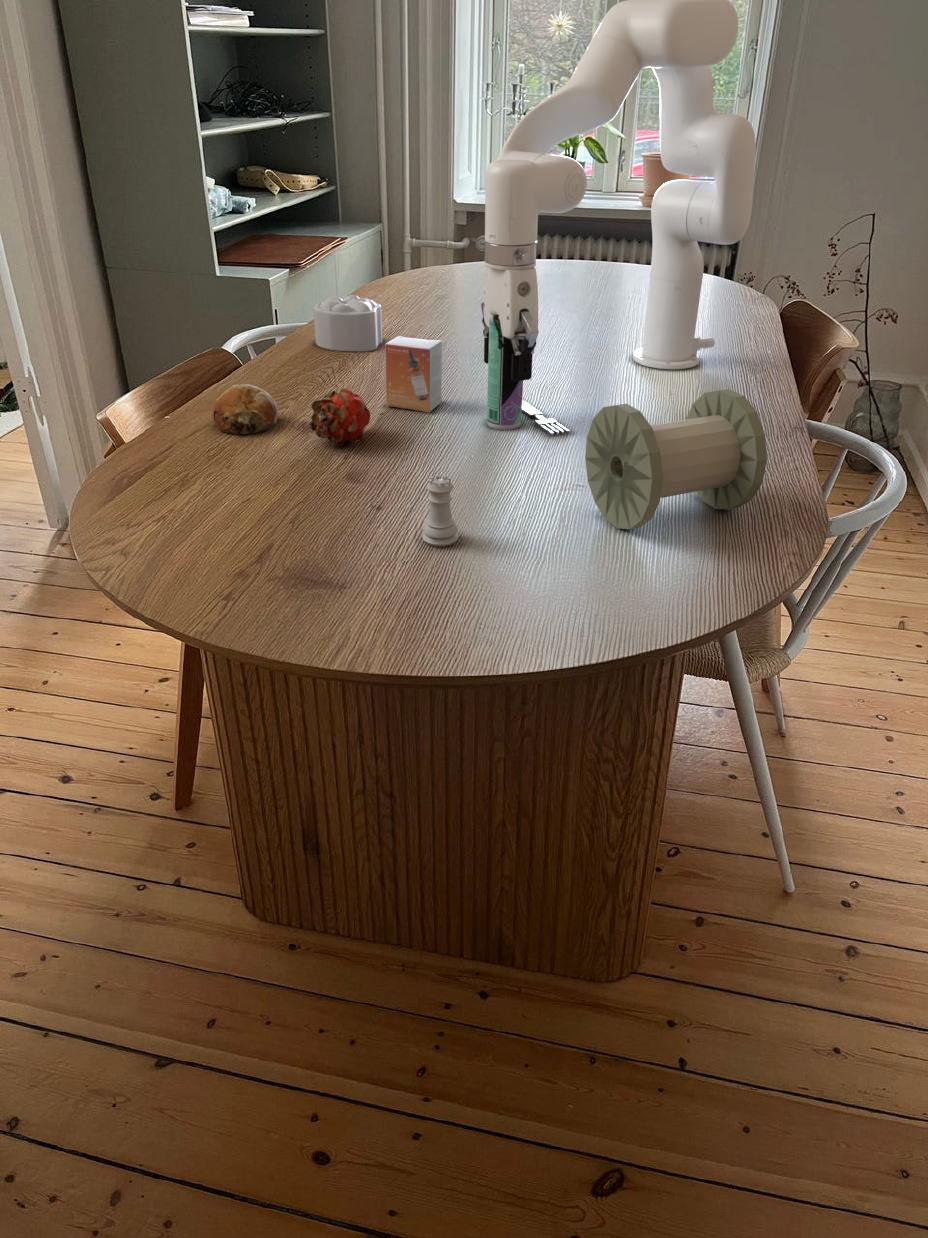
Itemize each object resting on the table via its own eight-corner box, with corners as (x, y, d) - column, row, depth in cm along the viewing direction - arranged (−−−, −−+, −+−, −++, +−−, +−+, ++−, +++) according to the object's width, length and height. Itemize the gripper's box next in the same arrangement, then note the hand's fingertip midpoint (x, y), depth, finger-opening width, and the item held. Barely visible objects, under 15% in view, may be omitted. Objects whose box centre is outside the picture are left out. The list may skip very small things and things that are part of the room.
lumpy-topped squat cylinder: (372, 352, 183) (370, 306, 179) (308, 348, 185) (305, 303, 181) (385, 338, 192) (383, 294, 188) (324, 334, 194) (321, 291, 189)
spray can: (518, 431, 147) (523, 299, 136) (484, 428, 148) (486, 297, 137) (523, 419, 152) (529, 291, 141) (490, 416, 152) (493, 289, 142)
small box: (385, 407, 156) (383, 343, 151) (399, 396, 161) (397, 334, 155) (430, 413, 154) (429, 348, 148) (442, 402, 158) (442, 339, 153)
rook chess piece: (421, 532, 116) (420, 472, 112) (457, 531, 117) (457, 471, 112) (422, 548, 112) (421, 487, 108) (460, 547, 113) (460, 486, 109)
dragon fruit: (325, 466, 138) (348, 448, 149) (370, 435, 135) (390, 419, 146) (290, 416, 136) (316, 402, 147) (335, 384, 133) (358, 372, 144)
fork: (503, 402, 159) (503, 398, 158) (520, 400, 160) (520, 396, 159) (551, 436, 145) (551, 431, 145) (569, 433, 146) (569, 428, 146)
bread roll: (286, 442, 151) (292, 392, 150) (254, 436, 142) (260, 382, 141) (232, 435, 154) (238, 385, 153) (197, 428, 144) (203, 375, 143)
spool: (643, 548, 113) (658, 429, 105) (581, 500, 125) (590, 390, 117) (754, 525, 119) (776, 411, 111) (685, 482, 130) (700, 375, 123)
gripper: (561, 263, 131) (555, 384, 140) (507, 242, 144) (504, 353, 153) (513, 268, 128) (509, 390, 137) (462, 245, 142) (462, 358, 151)
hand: (507, 370), depth 145 cm, fingers open, 9 cm apart
